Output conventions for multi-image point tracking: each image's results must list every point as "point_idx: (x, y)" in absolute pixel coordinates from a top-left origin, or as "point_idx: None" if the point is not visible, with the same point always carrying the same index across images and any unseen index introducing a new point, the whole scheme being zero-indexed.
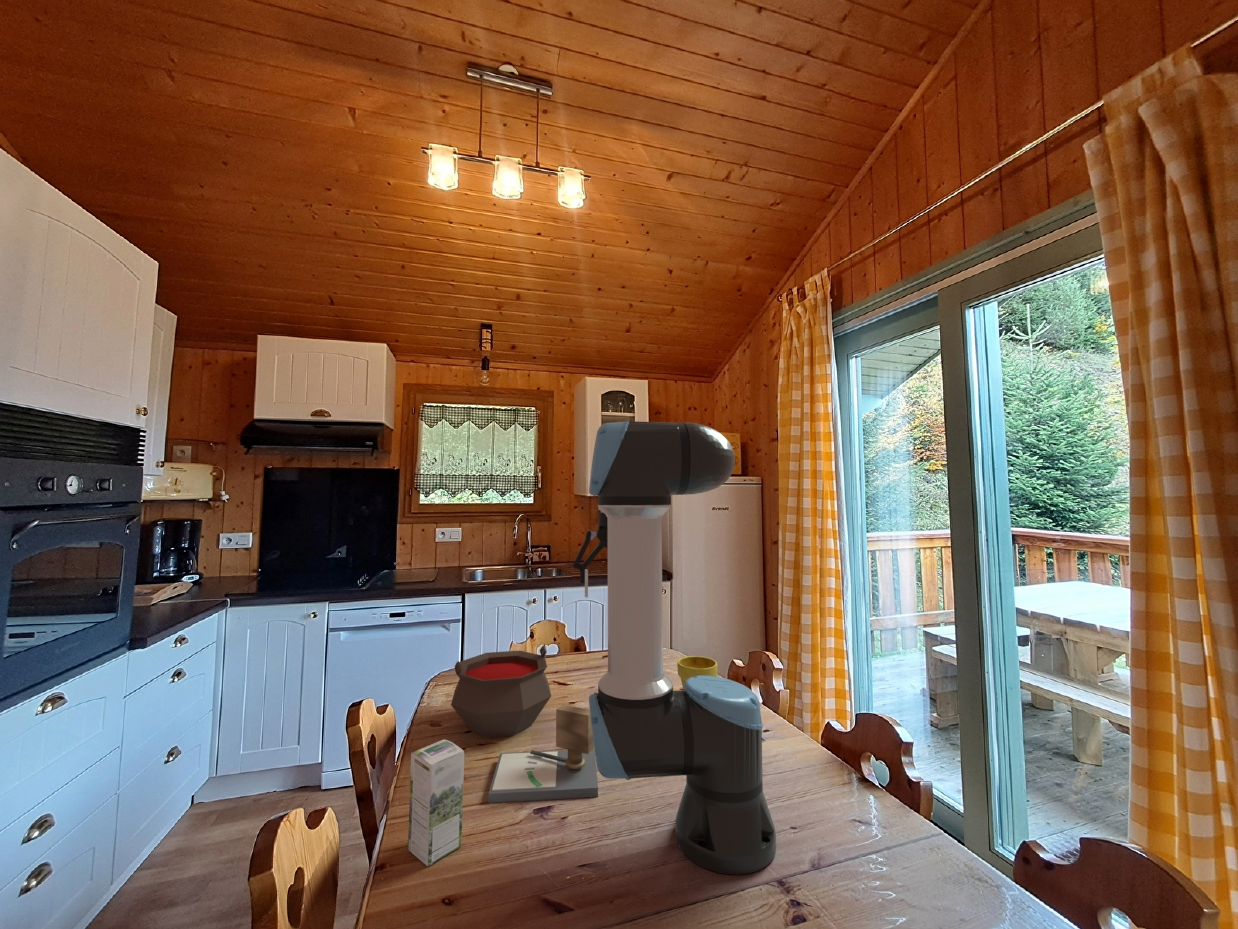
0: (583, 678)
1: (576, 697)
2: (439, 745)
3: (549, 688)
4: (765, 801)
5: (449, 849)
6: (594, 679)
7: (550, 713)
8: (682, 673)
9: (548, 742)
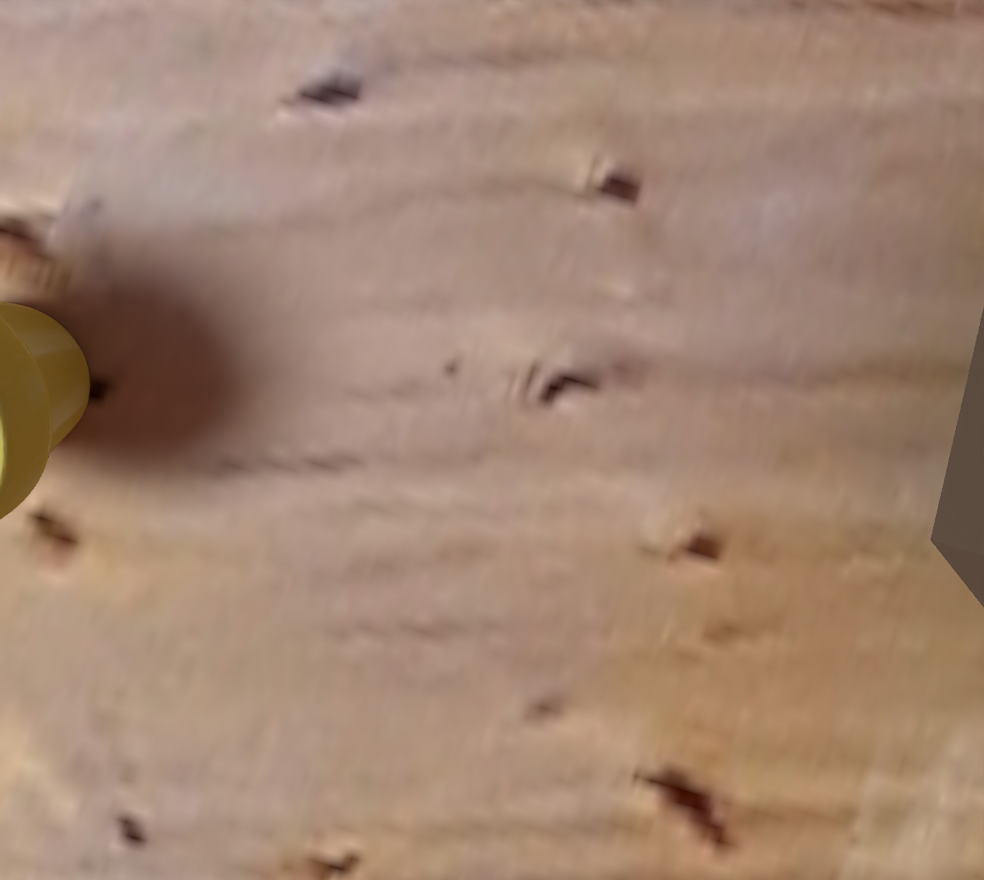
0: (556, 831)
1: (662, 605)
2: None
3: (967, 409)
4: None
5: None
6: (502, 802)
7: (853, 450)
8: (22, 375)
9: (962, 106)
